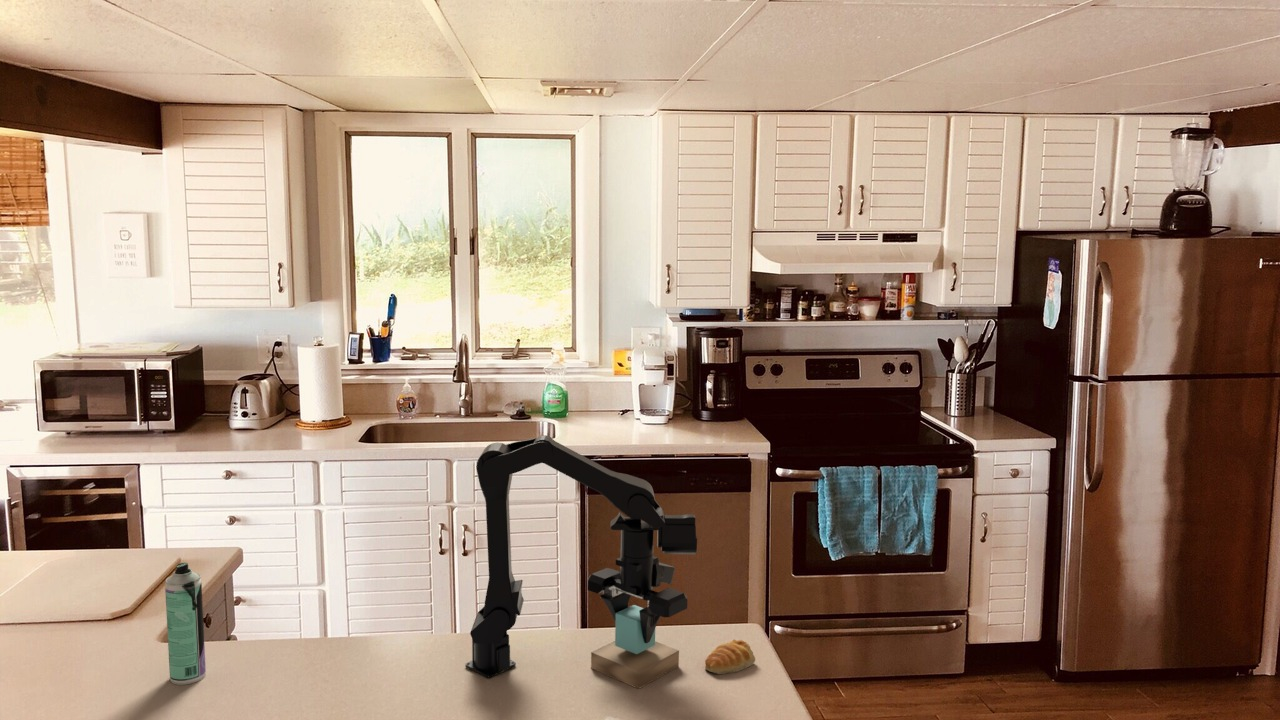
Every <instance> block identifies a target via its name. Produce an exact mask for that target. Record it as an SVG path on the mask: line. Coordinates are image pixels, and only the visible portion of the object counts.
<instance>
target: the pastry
mask: <svg viewBox="0 0 1280 720" xmlns="http://www.w3.org/2000/svg"><path fill="white" fill-rule="evenodd" d="M755 661H756V657H755V655H754V651H753V649H751V646H750V645H749V643H747V642H746V641H745V640H742V639H733V640H732V641H729V642H726V643H723V644H719V645H718V646H717V647H716V648H715V649H714V650H712V651H711V653H710V654H709V655H708V656H707V657H706V659H705V661H704V662H705V666H704V667H705V669H704V670H705V671H706V670H707V672H708V671H709V672H711V673H714V674H716V675H723V674H730V673H738V672H739V671H742V670H744V669H747V667H748V668H750V667H751V666H752V665H754V663H755ZM749 666H750V667H749Z"/></svg>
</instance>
